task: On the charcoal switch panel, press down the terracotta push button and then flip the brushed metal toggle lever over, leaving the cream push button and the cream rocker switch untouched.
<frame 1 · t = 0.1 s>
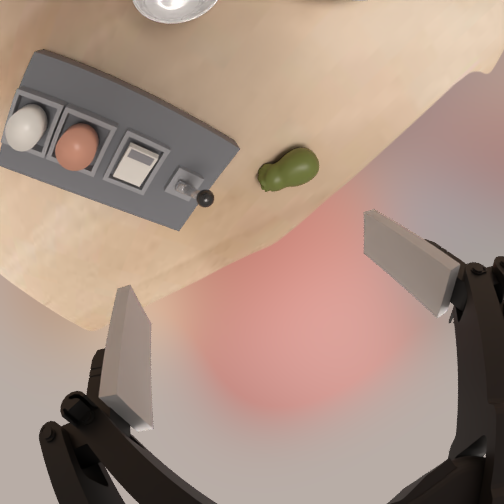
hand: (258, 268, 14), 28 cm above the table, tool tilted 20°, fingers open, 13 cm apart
cream button: (26, 127, 20), point 6 cm above the table, slide at 0.0 cm
terracotta button: (77, 146, 25), point 6 cm above the table, slide at 0.0 cm
rocker switch: (134, 165, 31), point 4 cm above the table, hinge at 12.0°
toggle lever: (194, 193, 33), point 8 cm above the table, hinge at -25.0°
switch panel: (111, 140, 31), on the table
green rounded piece: (281, 163, 44), on the table
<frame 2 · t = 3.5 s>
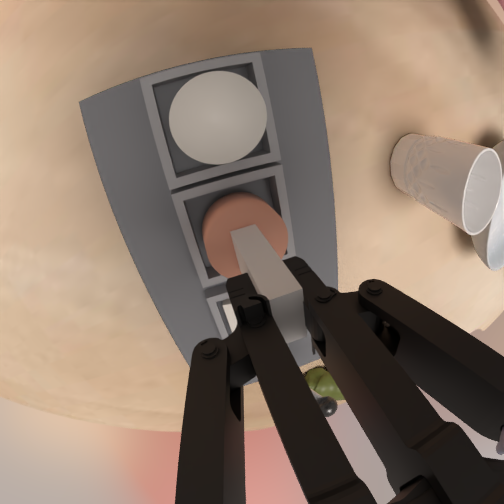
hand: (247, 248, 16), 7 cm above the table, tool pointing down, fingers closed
cream button: (215, 117, 14), point 6 cm above the table, slide at 0.0 cm
terracotta button: (243, 235, 18), point 6 cm above the table, slide at 0.1 cm, touching gripper
rocker switch: (259, 314, 23), point 4 cm above the table, hinge at 12.0°
toggle lever: (300, 388, 23), point 8 cm above the table, hinge at -25.0°
serving bowl: (485, 192, 31), on the table
switch panel: (238, 249, 24), on the table
green rounded piece: (326, 371, 38), on the table
white cup: (409, 162, 25), on the table
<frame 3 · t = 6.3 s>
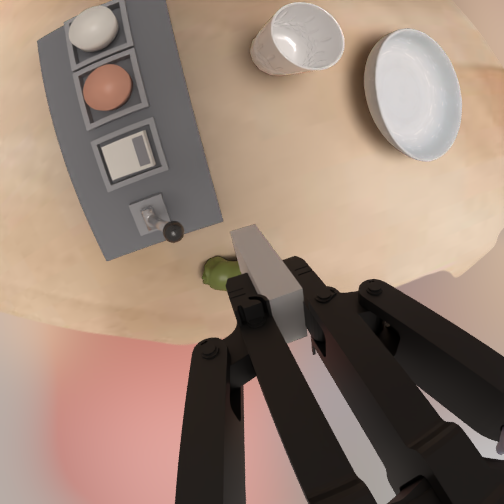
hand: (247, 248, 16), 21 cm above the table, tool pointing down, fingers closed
cream button: (93, 29, 17), point 6 cm above the table, slide at 0.0 cm
terracotta button: (108, 88, 22), point 5 cm above the table, slide at 1.0 cm
rocker switch: (127, 155, 26), point 4 cm above the table, hinge at 12.0°
toggle lever: (160, 224, 27), point 8 cm above the table, hinge at -25.0°
serving bowl: (396, 92, 34), on the table
switch panel: (125, 120, 28), on the table
green rounded piece: (233, 267, 41), on the table
white cup: (274, 53, 28), on the table
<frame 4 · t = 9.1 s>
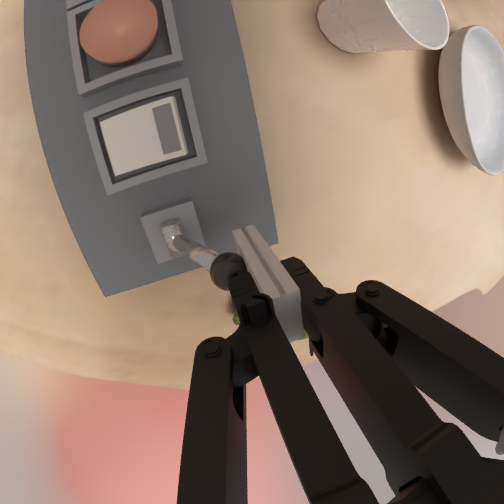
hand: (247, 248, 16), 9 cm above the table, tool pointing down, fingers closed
terracotta button: (120, 30, 12), point 5 cm above the table, slide at 1.0 cm
rocker switch: (142, 136, 16), point 4 cm above the table, hinge at 12.0°
toggle lever: (198, 253, 17), point 8 cm above the table, hinge at -24.0°, touching gripper
serving bowl: (459, 94, 25), on the table
switch panel: (138, 88, 18), on the table
white cup: (344, 24, 19), on the table
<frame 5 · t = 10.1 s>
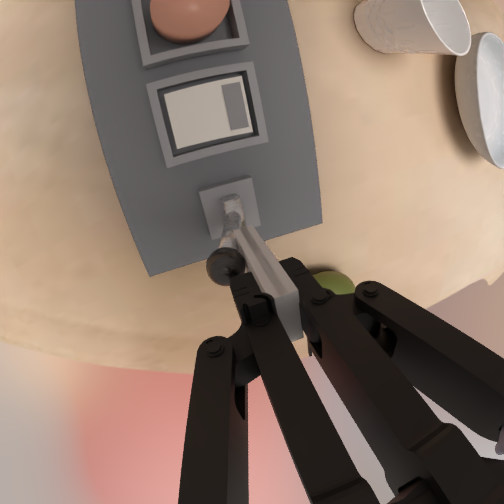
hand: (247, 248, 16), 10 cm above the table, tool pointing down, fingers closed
terracotta button: (188, 8, 12), point 5 cm above the table, slide at 1.0 cm
rocker switch: (208, 111, 17), point 4 cm above the table, hinge at 12.0°
toggle lever: (230, 236, 17), point 8 cm above the table, hinge at 16.9°, touching gripper
serving bowl: (470, 93, 26), on the table
switch panel: (192, 68, 18), on the table
green rounded piece: (304, 282, 32), on the table
white cup: (376, 26, 20), on the table
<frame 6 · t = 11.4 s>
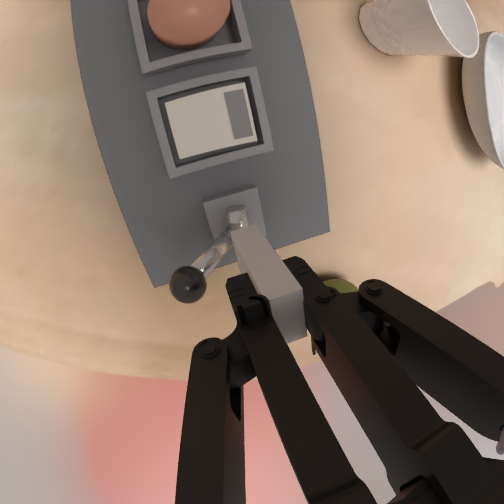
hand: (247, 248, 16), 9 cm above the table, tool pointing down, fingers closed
terracotta button: (187, 13, 12), point 5 cm above the table, slide at 1.0 cm
rocker switch: (211, 120, 16), point 4 cm above the table, hinge at 12.0°
toggle lever: (215, 251, 17), point 8 cm above the table, hinge at 37.5°
serving bowl: (477, 95, 25), on the table
switch panel: (194, 74, 18), on the table
green rounded piece: (309, 289, 31), on the table
white cup: (382, 27, 19), on the table
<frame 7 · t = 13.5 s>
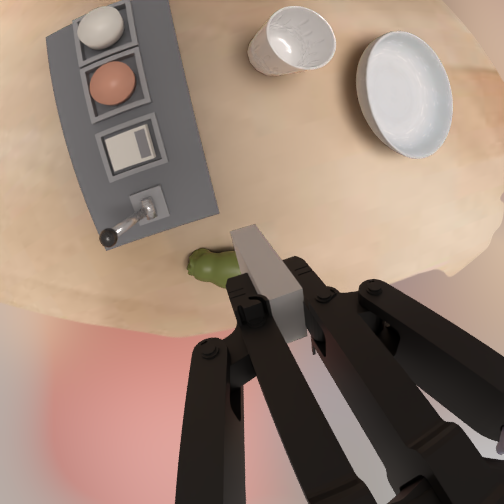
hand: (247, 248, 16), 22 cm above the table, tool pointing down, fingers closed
cream button: (101, 28, 19), point 6 cm above the table, slide at 0.0 cm
terracotta button: (113, 84, 23), point 5 cm above the table, slide at 1.0 cm
rocker switch: (129, 147, 27), point 4 cm above the table, hinge at 12.0°
toggle lever: (128, 222, 28), point 8 cm above the table, hinge at 37.8°
serving bowl: (388, 92, 36), on the table
switch panel: (127, 116, 29), on the table
green rounded piece: (218, 260, 42), on the table
white cup: (271, 54, 30), on the table
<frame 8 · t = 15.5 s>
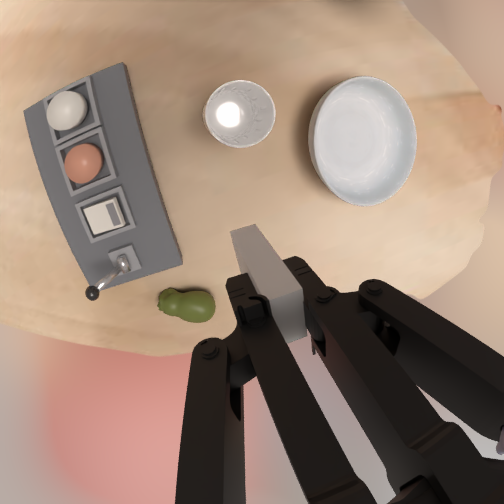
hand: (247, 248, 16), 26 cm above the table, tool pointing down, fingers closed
cream button: (67, 110, 25), point 6 cm above the table, slide at 0.0 cm
terracotta button: (84, 162, 29), point 5 cm above the table, slide at 1.0 cm
rocker switch: (104, 216, 34), point 4 cm above the table, hinge at 12.0°
toggle lever: (107, 278, 34), point 8 cm above the table, hinge at 37.8°
serving bowl: (348, 136, 42), on the table
switch panel: (102, 182, 35), on the table
green rounded piece: (185, 296, 48), on the table
white cup: (225, 114, 36), on the table
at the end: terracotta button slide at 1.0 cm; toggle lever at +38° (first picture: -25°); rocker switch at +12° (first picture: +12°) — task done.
